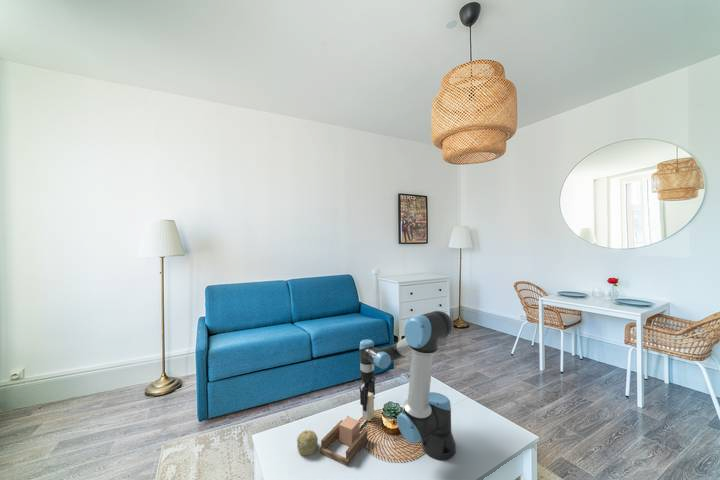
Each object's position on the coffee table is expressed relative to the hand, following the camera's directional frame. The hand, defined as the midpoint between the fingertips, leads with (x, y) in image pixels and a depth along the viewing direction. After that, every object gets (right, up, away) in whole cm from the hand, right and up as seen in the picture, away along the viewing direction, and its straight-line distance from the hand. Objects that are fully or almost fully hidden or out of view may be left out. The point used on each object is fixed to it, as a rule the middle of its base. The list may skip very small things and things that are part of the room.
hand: (368, 413), depth 148 cm
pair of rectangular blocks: (-5, -3, -8) cm, 10 cm away
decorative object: (-29, -4, -20) cm, 35 cm away
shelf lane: (-11, -3, -19) cm, 22 cm away
